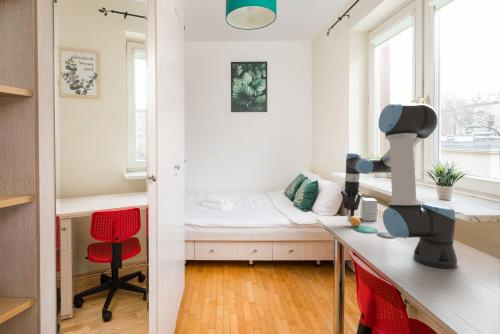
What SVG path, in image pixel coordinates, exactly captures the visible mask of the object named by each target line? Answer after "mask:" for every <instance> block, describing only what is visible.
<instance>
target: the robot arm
mask: <svg viewBox="0 0 500 334" xmlns="http://www.w3.org/2000/svg"><path fill="white" fill-rule="evenodd" d="M438 116H439V115H438V113H437V112H436V110H435V109H434V108H433V107H432V106H430V105H428V104H426V103H401V102H398V103H397V102H396V103H390V104H387V105H385V106H384V108H383V109H382V110H381V112H380V114H379V118H378V129H379V131H381V132H382V134H383V133H384V134H385V135H384V136H385V140H387V141H388V143H389V149H388V150H387V151H386V152H385V153H384V155H383V156H382V157H381V158H380V157H379V158H363V157H361V156H362V155H361V153H356V152H355V153H354V152H353V153H349V152H348V153H346V158H345V178H344V179H345V181H344V187H345V188H344V189H343V190H342V191H340V194H341V196H342V203H343V208H344V209H346V215H347V222H348V223H350V220H351V219H352V218H353V217H355V211H358V210H359V206H360V202H361V201H362V198H363V197H364V195H363V194H361V193H360V190H359V188H360V174H362V175H363V174H365V175H367V174H373V173H374V174H375V173H378V174H379V173H380V174H381V173H384V174H385V173H386V174H390V175H391V178H390V179H391V195H392V198H391V200H390V201H389V202H388V207H387V208H386V209H385V210H384V211H383V213H382V220H383V221H382V222H383V225H384V228H385V230H386V232H387V233H389V234H390V235H392V236H393V237H396V238H397V239H398V238H399V239H402V238H403V239H407V238H419V240H418V241H417V244H416V246H415V249H414V250H413V259H415V261H416V262H418V263H420V264H423V265H425V266H429V267H432V268H437V269H438V268H439V269H454V268H456V267H457V266H458V258H457V253H456V251H455V248H454V238H455V236H454V235H455V225H456V220H457V219H456V211H455V210H454V209H453V208H451V207H448V206H445V205H441V204H436V203H429V202H423V203H421V202H420V201H418V199H417V190H416V189H417V188H416V187H417V186H416V184H417V183H416V173H415V171H416V170H415V169H416V168H415V152H414V151H415V150H414V148H415V147H416V146H417V145H418V144H419V143H420V142H421V141H422V140H424V139H427V138H429V137H430V136H431V135H432V134H433V133H434V131H435V130H436V128H437V126H438V124H439V123H438V121H439V117H438Z"/></svg>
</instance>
